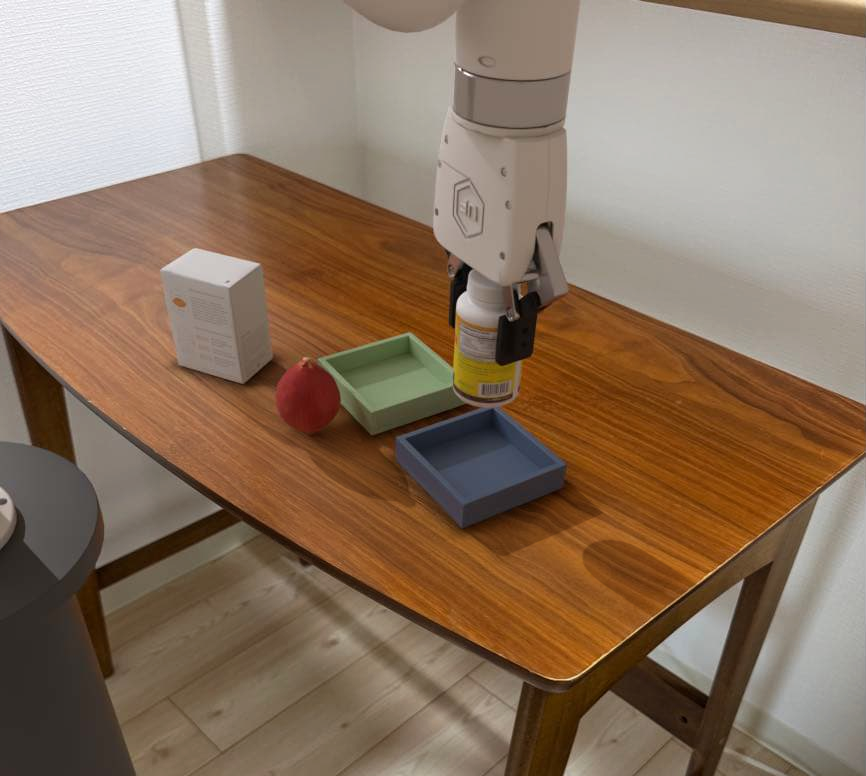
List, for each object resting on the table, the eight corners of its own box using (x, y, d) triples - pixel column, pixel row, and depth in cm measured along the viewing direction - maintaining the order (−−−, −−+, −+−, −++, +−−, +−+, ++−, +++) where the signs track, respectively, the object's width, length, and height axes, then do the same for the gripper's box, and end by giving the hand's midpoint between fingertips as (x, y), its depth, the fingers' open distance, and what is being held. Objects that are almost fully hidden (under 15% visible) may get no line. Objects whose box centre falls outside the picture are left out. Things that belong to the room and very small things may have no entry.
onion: (266, 428, 84) (258, 353, 78) (318, 407, 87) (313, 333, 81) (301, 458, 81) (295, 382, 75) (353, 435, 83) (351, 360, 78)
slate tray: (461, 529, 74) (463, 504, 73) (395, 460, 81) (395, 437, 79) (563, 487, 79) (567, 464, 77) (492, 426, 85) (494, 402, 84)
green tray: (371, 436, 83) (371, 412, 82) (318, 381, 90) (317, 358, 88) (467, 403, 88) (468, 381, 86) (410, 353, 94) (410, 331, 93)
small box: (274, 360, 93) (264, 263, 86) (243, 386, 89) (230, 287, 82) (209, 341, 95) (194, 245, 88) (176, 366, 91) (158, 268, 84)
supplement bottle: (480, 366, 77) (489, 252, 70) (532, 391, 74) (547, 275, 67) (437, 392, 74) (442, 275, 67) (490, 419, 71) (501, 301, 64)
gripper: (393, 67, 62) (392, 306, 75) (545, 146, 52) (515, 408, 64) (482, 55, 65) (467, 286, 78) (642, 126, 55) (596, 380, 67)
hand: (489, 339), depth 71 cm, fingers closed on supplement bottle, 5 cm apart
